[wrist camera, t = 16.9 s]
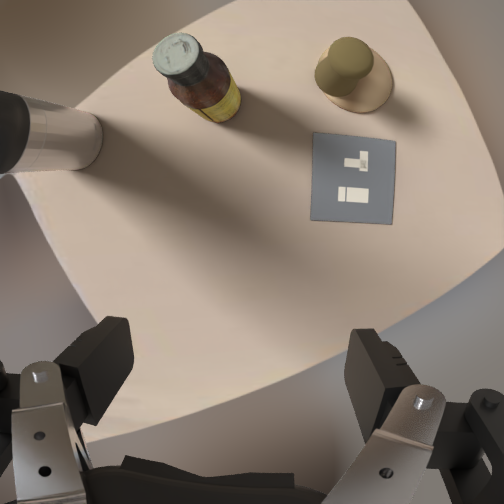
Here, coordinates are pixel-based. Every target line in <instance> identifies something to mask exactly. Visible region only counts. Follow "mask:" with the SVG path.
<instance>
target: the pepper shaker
mask: <svg viewBox="0 0 504 504" xmlns="http://www.w3.org/2000/svg"><path fill="white" fill-rule="evenodd" d="M373 65H374V56H373V53H372V51H371V49H370V48H369V46H368V45H367V44H365V43H364V42H363V41H361V40H359V39H357V38H353V37H343V38H340V39H338V40H336V41H335V42H334V43H333V44H332V45H331V46H330V49H329V51H328V56H327V57H326V58H324V59H323V60H322V61H321V62H320V63H319V64H318V65H317V67H316V70H315V80H316V83H317V85H318V86H319V88H320V89H321V90H322V91H323V92H325V93H326V94H328V95H331V96H334V97H342V96H346V95H348V94H350V93H351V92H352V91H353V90H354V89H355V87H356V85H357V83H358V81H359V79H362V78H364V77H366V76H367V75H368V74H369V73H370V72H371V71H372V68H373Z"/></svg>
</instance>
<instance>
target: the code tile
mask: <svg viewBox="0 0 504 504" xmlns="http://www.w3.org/2000/svg"><path fill="white" fill-rule="evenodd" d="M394 178H395V141H391V140H383V139H375V138H367V137H358V136H348V135H338V134H326V133H313V165H312V194H311V216H310V220H320V221H341V222H360V223H378V224H392V212H393V197H394Z"/></svg>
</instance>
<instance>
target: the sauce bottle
mask: <svg viewBox="0 0 504 504" xmlns="http://www.w3.org/2000/svg"><path fill="white" fill-rule="evenodd" d="M153 64H154V66H155V68H156V69H157V70H158V71H159V72H160V73H161V74H162V75H163V76H165V77H167V79H168V84H169V89H170V91H171V92H172V94H173V95H174V96H175V97H176V98H177V99H178V100H180V101H181V103H183V104H184V105H185V106H187V107H188V108H190V109H191V110H192V111H194V112H195V113H197V114H198V115H200V116H201V117H202V118H204V119H206V120H208V121H212V122H216V123H219V122H224V121H227V120H228V119H230V118H232V117H233V116H235V115H236V113H237V111H238V109H239V107H240V104H241V97H240V92H239V89H238V87H237V85H236V83H235V81H234V79H233V77H232V76H231V74H230V72H229V70H228V68H227V66H226V65H225V63H224V62H223V61H222V60H221V59H220V58H219V57H218V56H216V55H214V54H211V53H208V52H203V48H202V46H201V45H200V43H199V42H198V41H197V40H196V39H195V38H194V37H193V36H191V35H189V34H185V33H175V34H171V35H169V36H167V37H165V38H164V39H163V40H162V41H160V42H159V44H158V45H157V46H156V48H155V50H154V52H153Z"/></svg>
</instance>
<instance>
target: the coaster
mask: <svg viewBox="0 0 504 504" xmlns="http://www.w3.org/2000/svg"><path fill="white" fill-rule="evenodd" d="M329 49H330V47H329V48H328V49H327V50H326V51H325V52H324V53H323V54H322V56H321V57H320V59H319V62H318V64H319V63H320V62H321V61H322V60H323V59H324V58H326V57H327V56H328V51H329ZM370 49H371V48H370ZM371 51H372V53H373V56H374V65H373V68H372V71H371V72H370V73H369V74H368V75H367V76H366V77H364V78H362V79H359V81H358V83H357V85H356V87H355V89H354V90H353V91H352V92H351V93H350V94H348V95H346V96H342V97H334V96H331V95H328V94H326V93H325V92H324V94H325V95H326V96H327V97H328V99H329V100H331V101H332V102H333V103H334V104H335V105H337V106H339V107H340V108H342V109H345V110H347V111H351V112H358V113H363V112H369V111H372V110H375V109H377V108H378V107H380V106H381V105H383V104H384V103H385V101H386V100H387V99H388V97H389V95H390V92H391V88H392V77H391V73H390V70H389V68H388V66H387V64H386V62H385V61H384V60H383V58H382V57H381V56H380V55H379V54H378V53H377V52H375V51H374V50H373V49H371Z"/></svg>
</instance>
